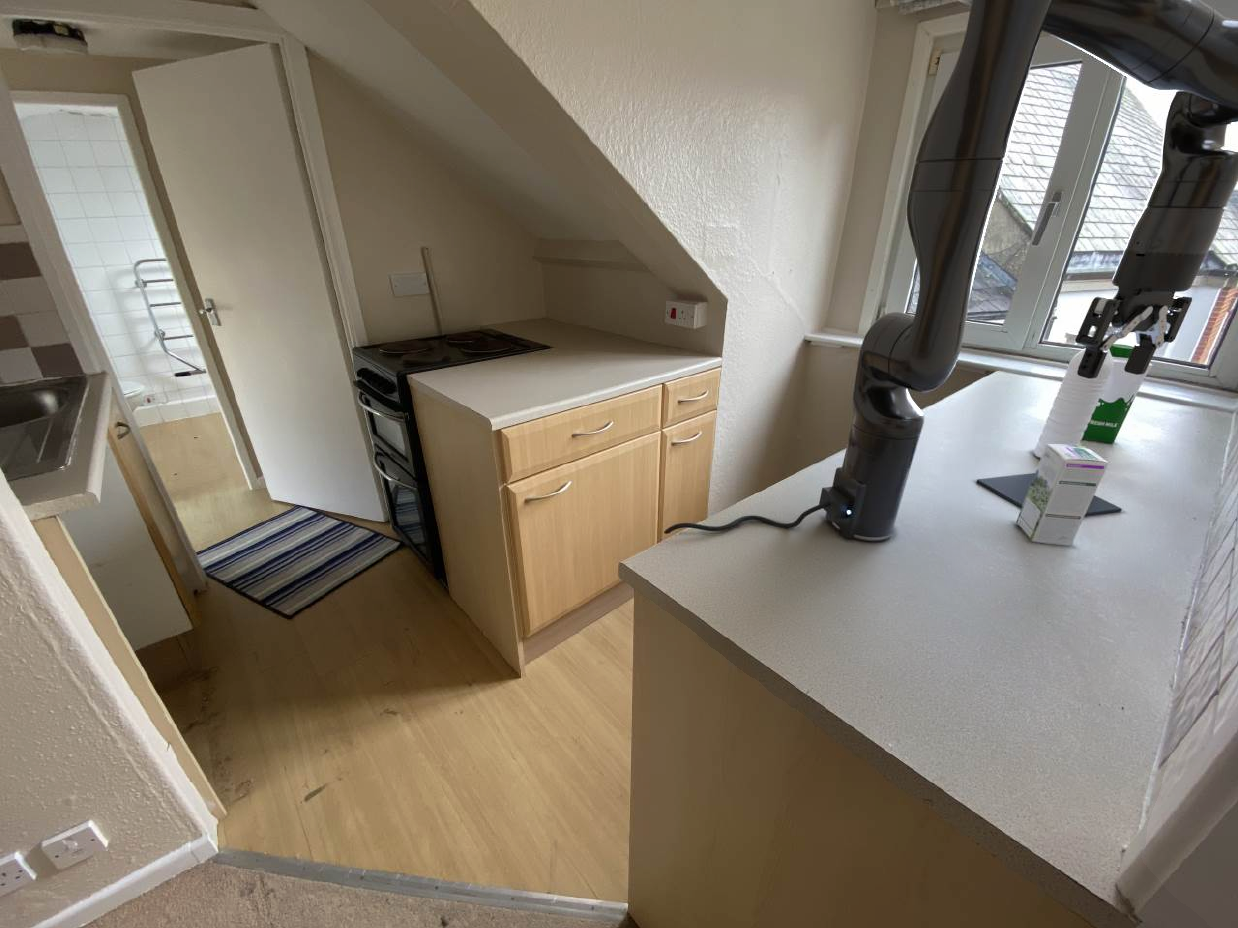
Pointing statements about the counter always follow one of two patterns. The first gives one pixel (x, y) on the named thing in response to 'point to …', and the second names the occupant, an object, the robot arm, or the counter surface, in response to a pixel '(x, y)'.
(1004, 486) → the mat
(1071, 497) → the syrup box
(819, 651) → the counter surface
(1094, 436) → the milk carton
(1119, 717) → the counter surface
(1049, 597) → the counter surface
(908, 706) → the counter surface
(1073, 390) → the water bottle
